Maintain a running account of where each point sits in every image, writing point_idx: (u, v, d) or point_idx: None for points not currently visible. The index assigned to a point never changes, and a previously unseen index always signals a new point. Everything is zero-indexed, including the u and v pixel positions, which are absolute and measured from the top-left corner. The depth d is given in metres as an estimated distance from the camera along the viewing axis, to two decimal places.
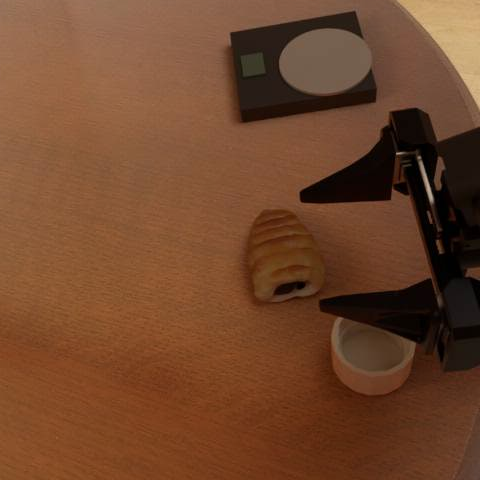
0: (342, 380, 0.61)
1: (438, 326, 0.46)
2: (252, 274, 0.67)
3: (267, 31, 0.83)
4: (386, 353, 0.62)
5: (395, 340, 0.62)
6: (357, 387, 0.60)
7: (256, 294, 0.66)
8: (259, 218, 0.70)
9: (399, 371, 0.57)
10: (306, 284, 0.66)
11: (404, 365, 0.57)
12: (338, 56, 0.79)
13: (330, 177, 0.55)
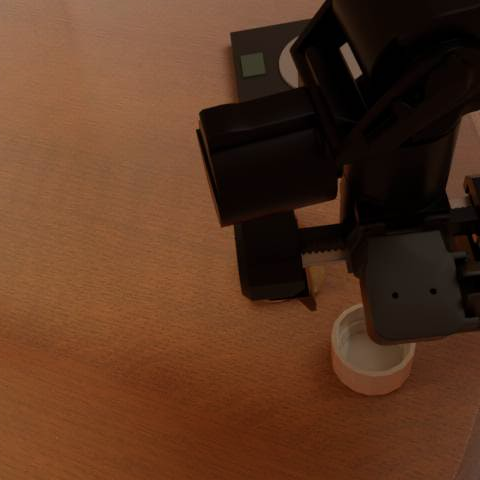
0: (342, 380, 0.61)
1: None
2: None
3: (267, 31, 0.83)
4: (386, 353, 0.62)
5: None
6: (357, 387, 0.60)
7: None
8: None
9: (399, 371, 0.57)
10: None
11: (404, 365, 0.57)
12: None
13: (304, 302, 0.52)
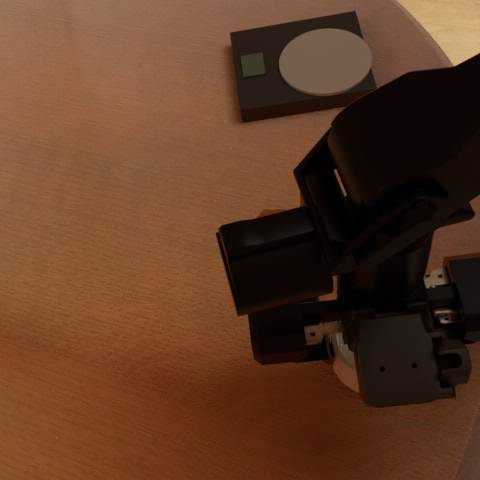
0: (342, 380, 0.61)
1: None
2: None
3: (267, 31, 0.83)
4: None
5: None
6: (357, 387, 0.60)
7: None
8: None
9: None
10: None
11: None
12: (338, 56, 0.79)
13: (323, 359, 0.60)
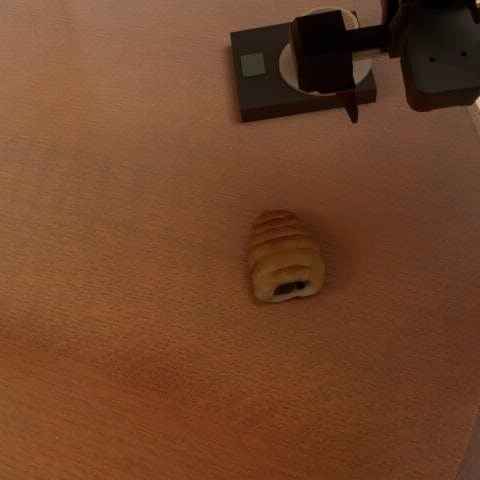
0: None
1: None
2: (252, 274, 0.67)
3: (267, 31, 0.83)
4: None
5: None
6: None
7: (256, 294, 0.66)
8: (259, 218, 0.70)
9: None
10: (306, 284, 0.66)
11: None
12: None
13: (348, 110, 0.60)
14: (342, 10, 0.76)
